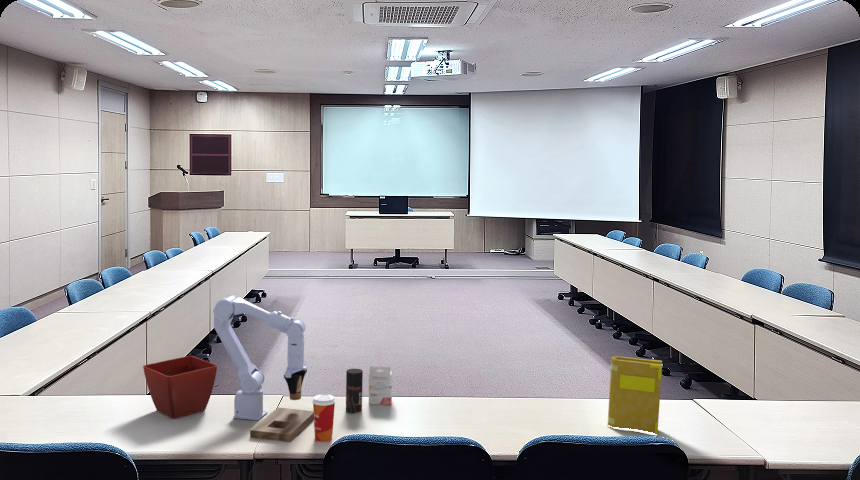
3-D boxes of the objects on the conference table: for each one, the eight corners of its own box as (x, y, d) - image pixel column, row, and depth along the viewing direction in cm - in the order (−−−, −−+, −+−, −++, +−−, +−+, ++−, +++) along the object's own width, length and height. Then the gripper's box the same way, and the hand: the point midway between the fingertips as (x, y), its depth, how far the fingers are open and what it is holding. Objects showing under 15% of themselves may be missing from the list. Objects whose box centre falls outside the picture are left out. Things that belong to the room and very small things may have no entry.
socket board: (250, 437, 221) (250, 430, 221) (278, 414, 243) (278, 407, 242) (290, 441, 218) (290, 434, 218) (314, 418, 240) (314, 411, 240)
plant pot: (142, 410, 243) (141, 364, 241) (191, 397, 257) (191, 354, 255) (168, 424, 230) (168, 376, 228) (218, 410, 244) (218, 365, 243)
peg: (287, 399, 238) (287, 377, 237) (292, 395, 242) (292, 374, 241) (298, 400, 237) (298, 378, 236) (302, 396, 241) (303, 375, 240)
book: (657, 429, 238) (662, 360, 236) (657, 436, 232) (662, 365, 229) (608, 422, 244) (612, 355, 241) (606, 429, 237) (610, 359, 235)
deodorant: (359, 414, 245) (359, 373, 244) (343, 412, 246) (344, 372, 245) (363, 408, 251) (364, 369, 249) (348, 407, 252) (349, 368, 250)
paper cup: (312, 434, 225) (313, 393, 224) (335, 434, 226) (336, 393, 225) (310, 443, 218) (311, 401, 216) (334, 443, 218) (335, 401, 217)
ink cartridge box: (391, 400, 260) (392, 363, 259) (390, 405, 255) (391, 367, 254) (369, 399, 261) (370, 362, 259) (368, 404, 256) (368, 366, 254)
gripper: (298, 360, 230) (298, 399, 231) (313, 349, 244) (313, 386, 246) (279, 359, 231) (279, 397, 233) (295, 348, 246) (295, 384, 247)
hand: (295, 391), depth 239 cm, fingers closed on peg, 4 cm apart
